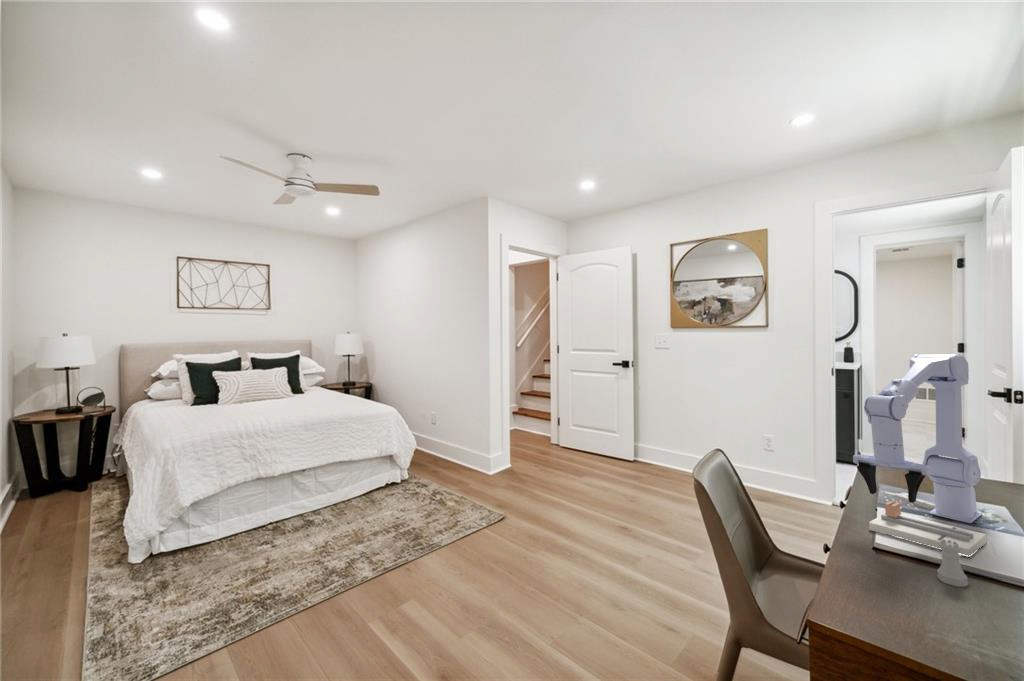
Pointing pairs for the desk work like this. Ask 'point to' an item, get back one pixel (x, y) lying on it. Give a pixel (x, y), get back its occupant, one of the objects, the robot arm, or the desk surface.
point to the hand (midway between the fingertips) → (892, 497)
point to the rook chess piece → (951, 565)
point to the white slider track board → (928, 532)
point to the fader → (892, 509)
